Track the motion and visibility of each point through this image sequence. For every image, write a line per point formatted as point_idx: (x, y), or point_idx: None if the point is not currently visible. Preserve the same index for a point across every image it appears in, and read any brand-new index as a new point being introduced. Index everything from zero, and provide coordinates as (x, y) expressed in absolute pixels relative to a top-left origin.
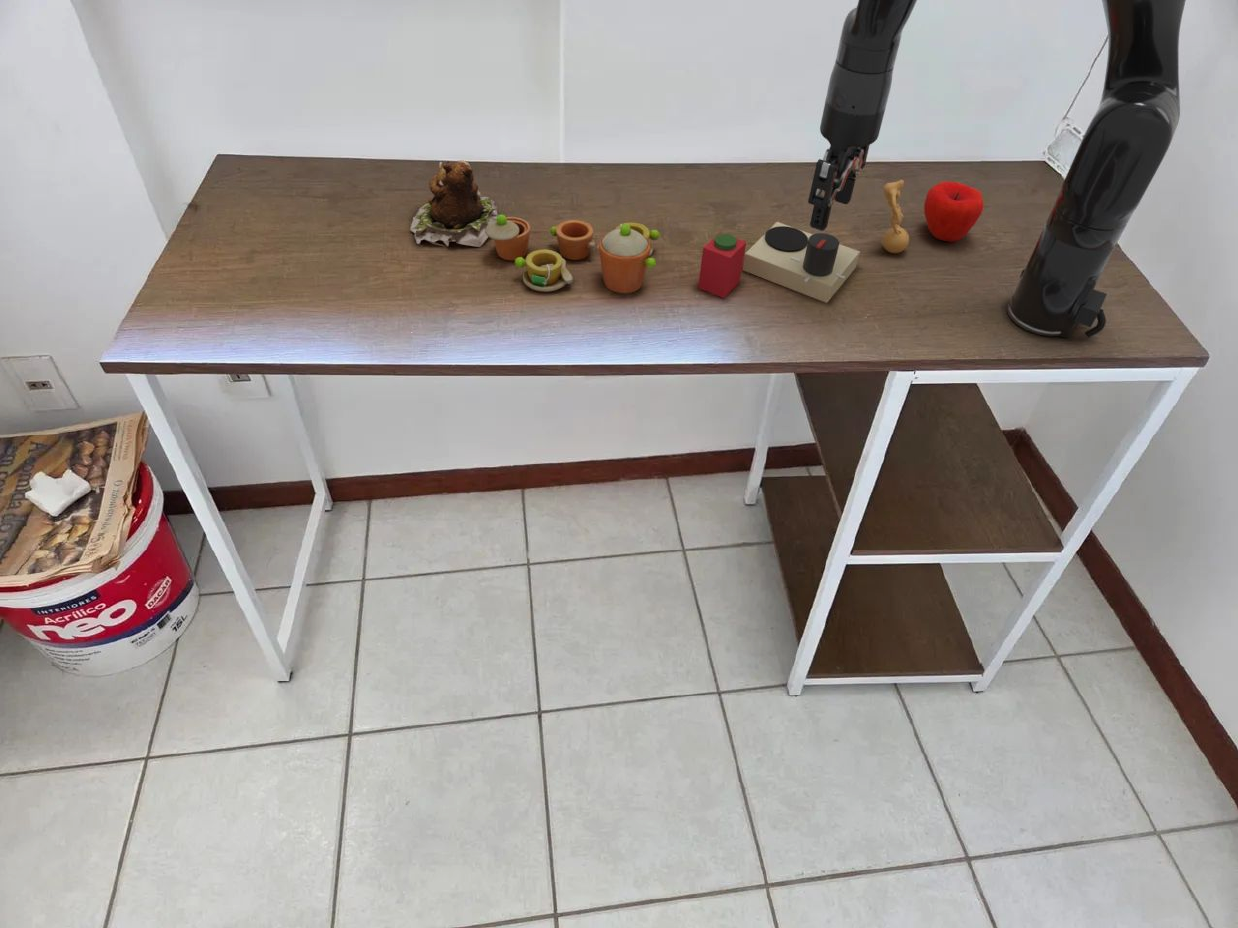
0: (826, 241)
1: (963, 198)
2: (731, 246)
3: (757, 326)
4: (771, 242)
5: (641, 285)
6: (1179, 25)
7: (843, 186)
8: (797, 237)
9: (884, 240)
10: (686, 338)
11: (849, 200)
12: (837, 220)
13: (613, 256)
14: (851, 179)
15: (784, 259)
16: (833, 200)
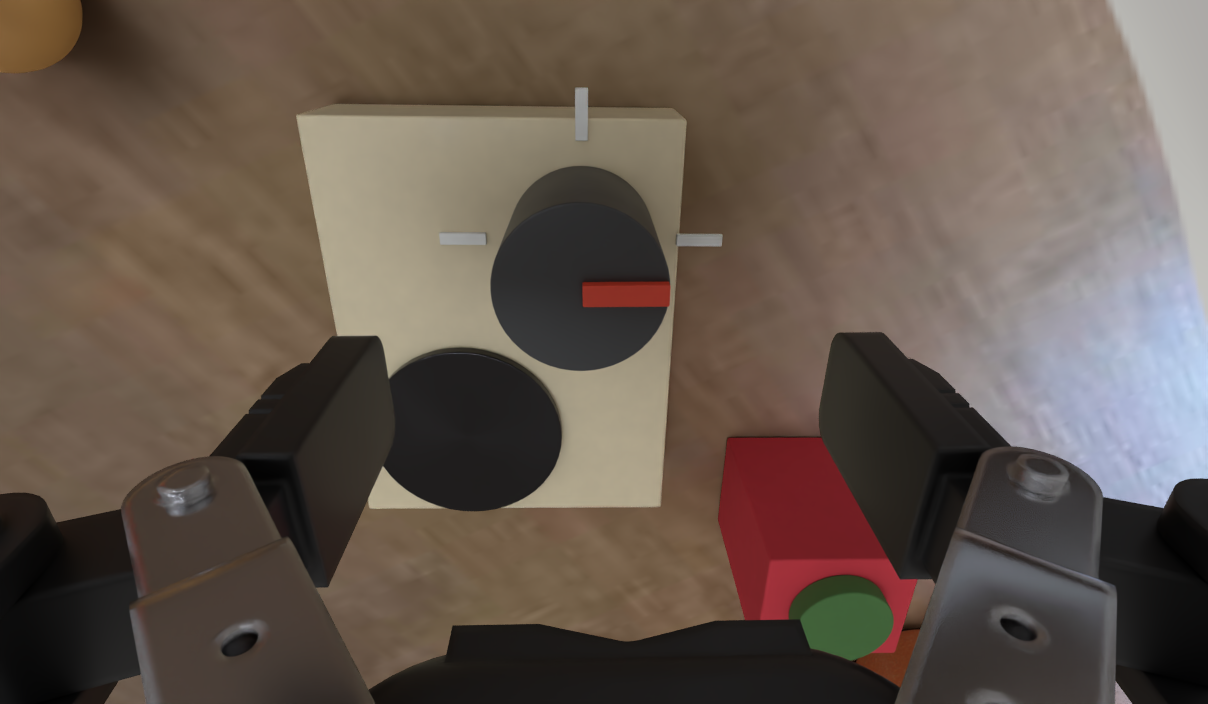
0: (573, 280)
1: None
2: (874, 594)
3: (956, 278)
4: (540, 468)
5: (906, 632)
6: None
7: (346, 477)
8: (430, 405)
9: (56, 48)
10: (1107, 433)
11: (358, 344)
12: (61, 325)
13: None
14: (281, 486)
15: (608, 380)
16: (980, 481)
